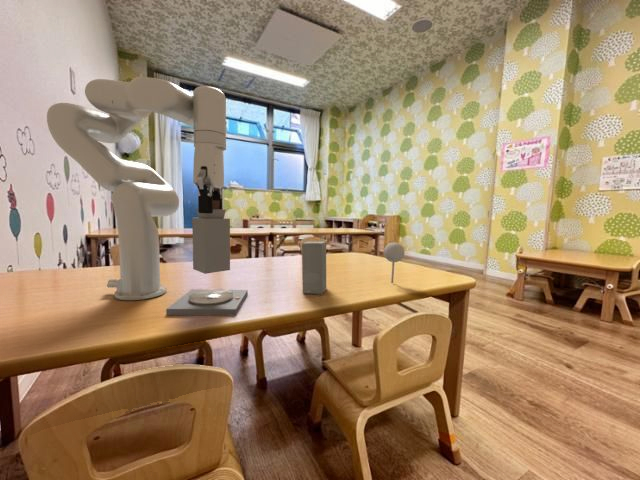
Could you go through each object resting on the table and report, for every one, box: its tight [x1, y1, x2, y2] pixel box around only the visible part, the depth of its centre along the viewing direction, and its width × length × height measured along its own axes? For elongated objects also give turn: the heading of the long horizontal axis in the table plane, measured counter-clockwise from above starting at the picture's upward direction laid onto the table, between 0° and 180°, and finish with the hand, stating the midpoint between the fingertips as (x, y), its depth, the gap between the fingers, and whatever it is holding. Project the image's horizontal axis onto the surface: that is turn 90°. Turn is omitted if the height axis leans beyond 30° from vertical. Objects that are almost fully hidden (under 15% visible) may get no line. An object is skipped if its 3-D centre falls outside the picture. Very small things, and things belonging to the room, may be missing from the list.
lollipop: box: [383, 241, 405, 284], centre depth 101 cm, size 7×7×15 cm
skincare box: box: [301, 240, 327, 296], centre depth 89 cm, size 8×7×16 cm
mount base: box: [165, 288, 248, 316], centre depth 75 cm, size 16×16×2 cm
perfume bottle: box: [191, 200, 231, 275], centre depth 73 cm, size 7×7×18 cm
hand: (211, 212), depth 72 cm, fingers closed on perfume bottle, 7 cm apart
